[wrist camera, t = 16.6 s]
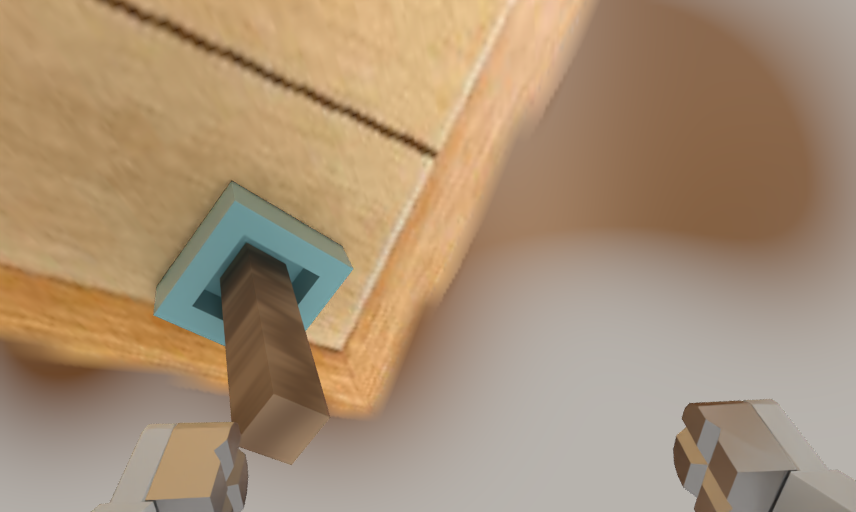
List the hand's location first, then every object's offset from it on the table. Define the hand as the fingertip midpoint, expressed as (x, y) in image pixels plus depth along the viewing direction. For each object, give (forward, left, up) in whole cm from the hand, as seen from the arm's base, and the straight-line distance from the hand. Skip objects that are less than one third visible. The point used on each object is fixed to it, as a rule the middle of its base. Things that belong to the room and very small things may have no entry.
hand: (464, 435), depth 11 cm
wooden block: (-3, -14, -35) cm, 38 cm away
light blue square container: (-3, -14, -36) cm, 39 cm away
